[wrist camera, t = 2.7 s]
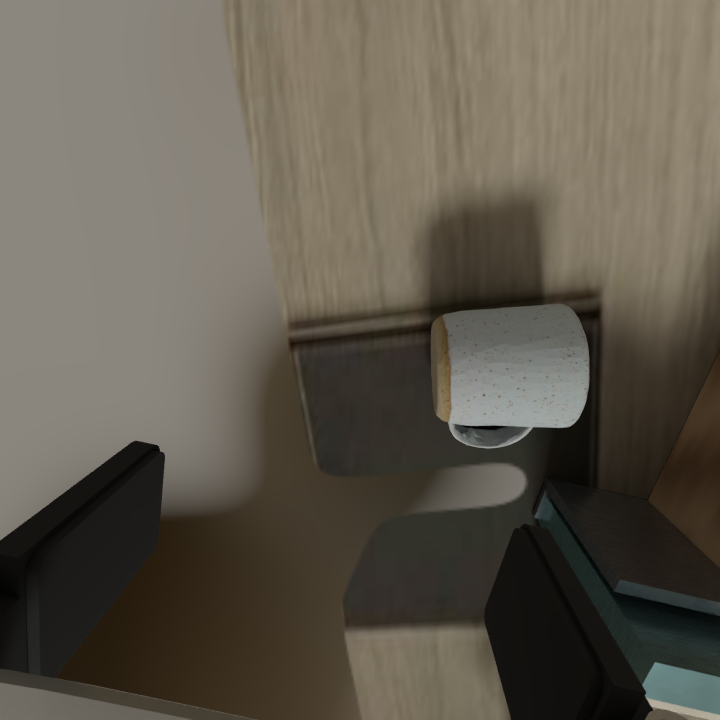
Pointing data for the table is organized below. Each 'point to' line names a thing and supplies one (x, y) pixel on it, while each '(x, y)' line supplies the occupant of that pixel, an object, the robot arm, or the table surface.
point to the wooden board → (695, 472)
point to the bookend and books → (644, 590)
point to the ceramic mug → (508, 371)
